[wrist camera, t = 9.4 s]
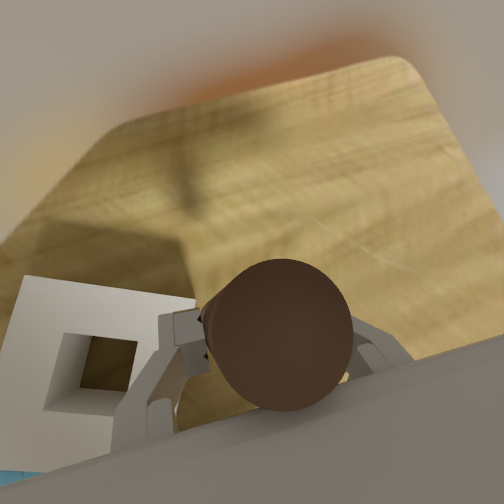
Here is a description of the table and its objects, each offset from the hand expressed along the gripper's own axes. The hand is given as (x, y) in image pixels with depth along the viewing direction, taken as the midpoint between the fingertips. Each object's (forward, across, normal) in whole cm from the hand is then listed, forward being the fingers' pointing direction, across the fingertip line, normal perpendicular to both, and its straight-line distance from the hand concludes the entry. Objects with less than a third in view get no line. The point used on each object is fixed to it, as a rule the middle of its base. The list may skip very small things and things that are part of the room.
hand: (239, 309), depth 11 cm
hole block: (+11, +9, +14) cm, 20 cm away
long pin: (+4, 0, +5) cm, 7 cm away
